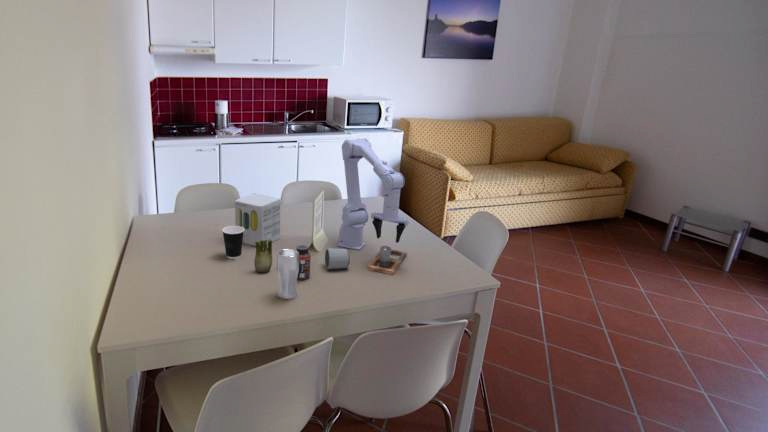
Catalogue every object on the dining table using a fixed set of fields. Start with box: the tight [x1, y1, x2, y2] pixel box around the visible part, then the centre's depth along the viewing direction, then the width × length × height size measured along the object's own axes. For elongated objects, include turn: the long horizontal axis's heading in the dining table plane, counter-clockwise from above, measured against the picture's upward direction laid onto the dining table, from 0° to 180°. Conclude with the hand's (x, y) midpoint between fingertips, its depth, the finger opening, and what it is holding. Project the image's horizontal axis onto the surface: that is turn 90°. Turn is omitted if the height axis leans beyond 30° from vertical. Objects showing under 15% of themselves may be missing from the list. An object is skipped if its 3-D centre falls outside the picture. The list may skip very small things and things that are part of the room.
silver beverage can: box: [276, 248, 299, 300], centre depth 158 cm, size 7×7×15 cm
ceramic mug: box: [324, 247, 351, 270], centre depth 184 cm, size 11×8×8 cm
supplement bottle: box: [295, 244, 312, 281], centre depth 172 cm, size 6×6×11 cm
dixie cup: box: [221, 225, 244, 260], centre depth 184 cm, size 8×8×11 cm
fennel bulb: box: [253, 240, 273, 273], centre depth 174 cm, size 6×5×12 cm
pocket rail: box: [366, 248, 408, 276], centre depth 191 cm, size 10×20×2 cm, turn 163°
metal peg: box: [378, 245, 392, 269], centre depth 186 cm, size 4×4×8 cm
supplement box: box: [234, 192, 282, 247], centre depth 200 cm, size 13×13×18 cm
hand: (388, 239), depth 186 cm, fingers open, 7 cm apart
